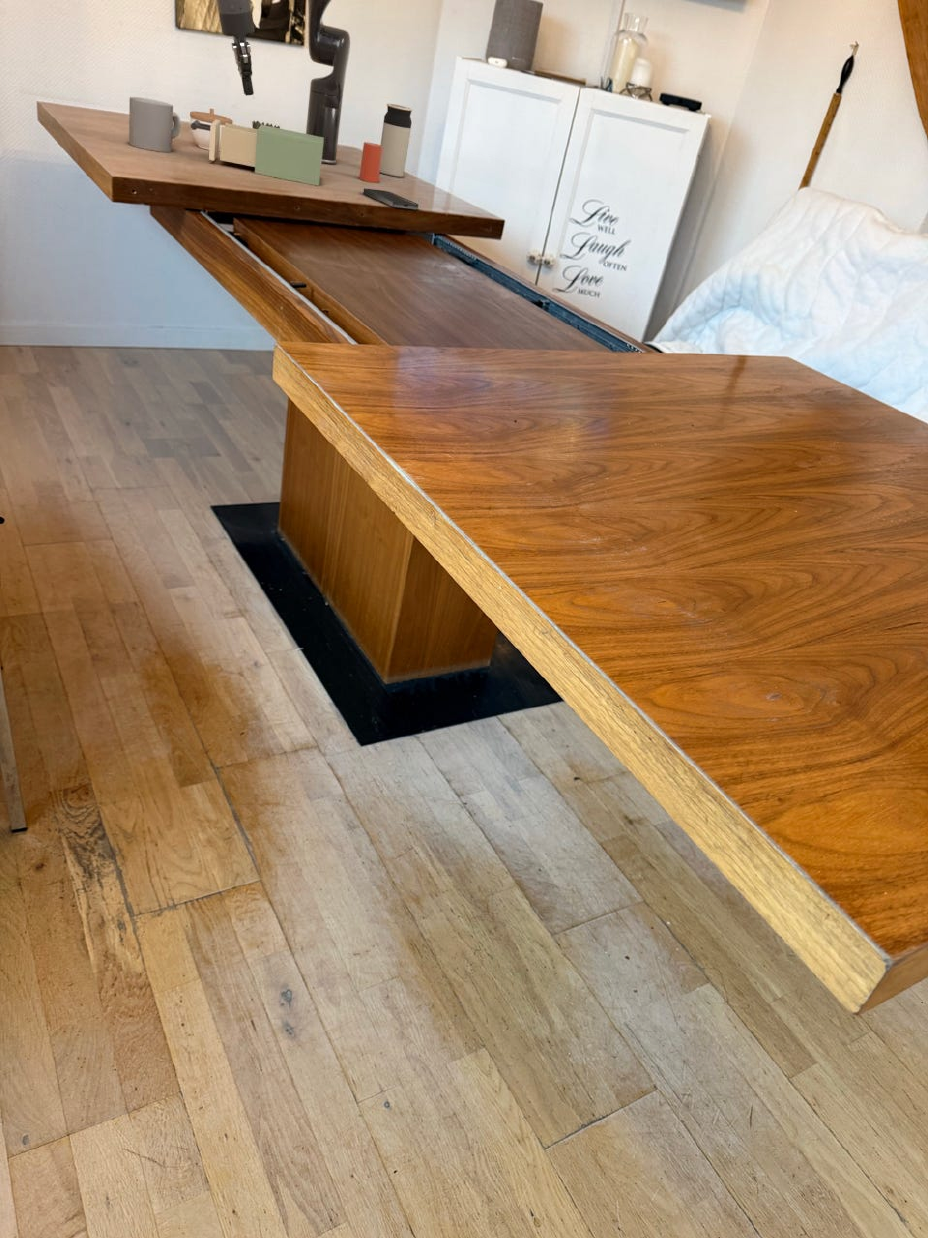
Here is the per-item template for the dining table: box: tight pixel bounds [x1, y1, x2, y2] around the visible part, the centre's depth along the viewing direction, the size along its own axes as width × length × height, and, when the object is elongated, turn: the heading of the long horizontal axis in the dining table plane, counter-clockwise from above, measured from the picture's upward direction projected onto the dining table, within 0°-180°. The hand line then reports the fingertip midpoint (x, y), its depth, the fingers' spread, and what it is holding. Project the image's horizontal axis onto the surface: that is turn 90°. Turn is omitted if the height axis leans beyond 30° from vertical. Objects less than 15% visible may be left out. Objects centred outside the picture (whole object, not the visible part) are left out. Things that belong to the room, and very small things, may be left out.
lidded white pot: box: [189, 108, 233, 152], centre depth 241 cm, size 11×11×9 cm
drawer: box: [190, 120, 258, 168], centre depth 225 cm, size 19×11×8 cm, turn 97°
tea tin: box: [359, 141, 383, 184], centre depth 250 cm, size 5×5×9 cm
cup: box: [251, 120, 281, 129], centre depth 250 cm, size 8×7×8 cm
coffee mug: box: [128, 96, 181, 153], centre depth 224 cm, size 13×10×10 cm
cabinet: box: [254, 124, 324, 187], centre depth 228 cm, size 16×13×10 cm
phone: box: [362, 188, 419, 211], centre depth 227 cm, size 8×1×15 cm
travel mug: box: [379, 103, 413, 178], centre depth 267 cm, size 8×8×18 cm
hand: (249, 94), depth 222 cm, fingers closed
